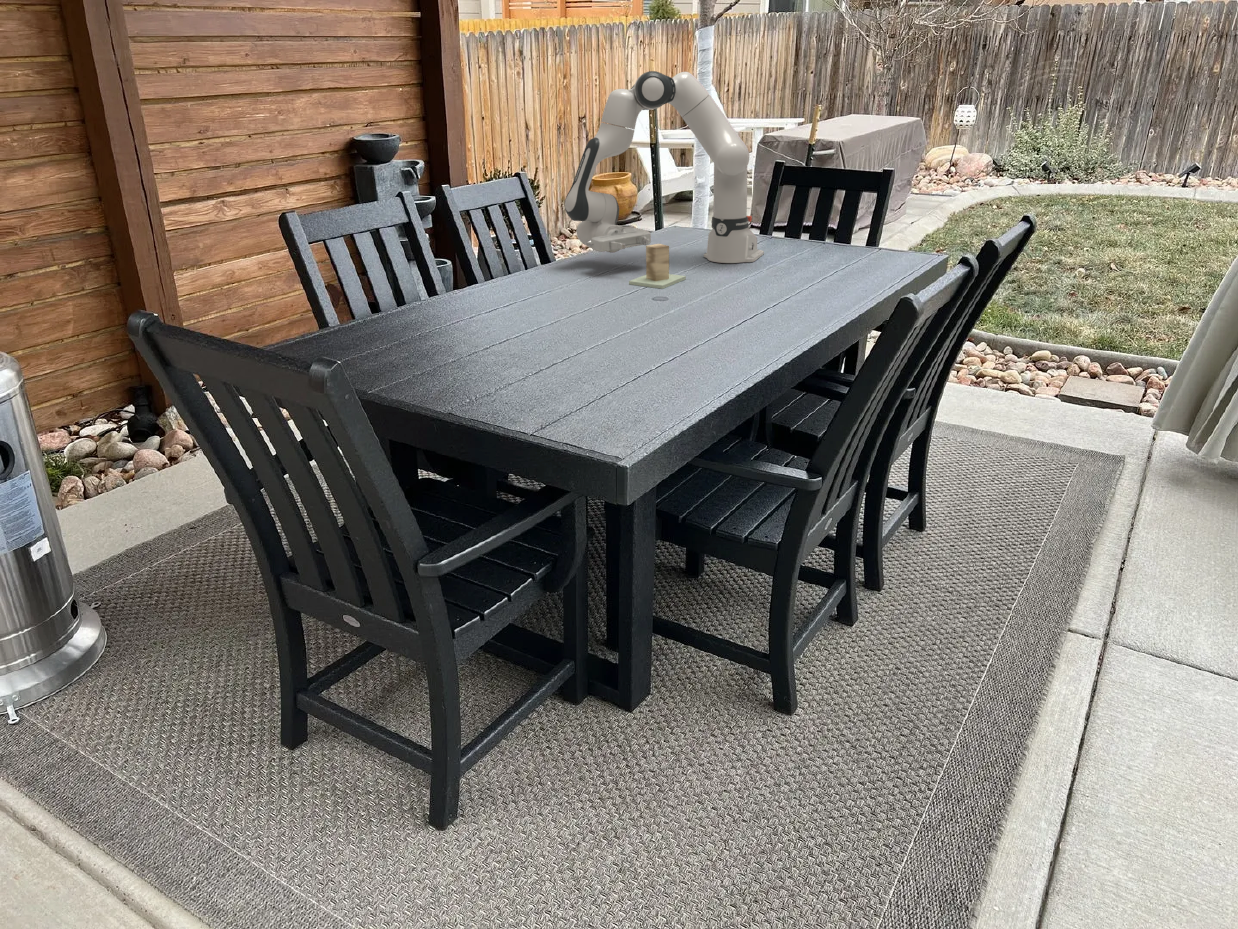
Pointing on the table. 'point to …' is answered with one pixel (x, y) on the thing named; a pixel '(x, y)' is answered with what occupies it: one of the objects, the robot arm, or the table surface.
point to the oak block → (657, 262)
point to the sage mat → (657, 284)
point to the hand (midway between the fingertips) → (635, 244)
